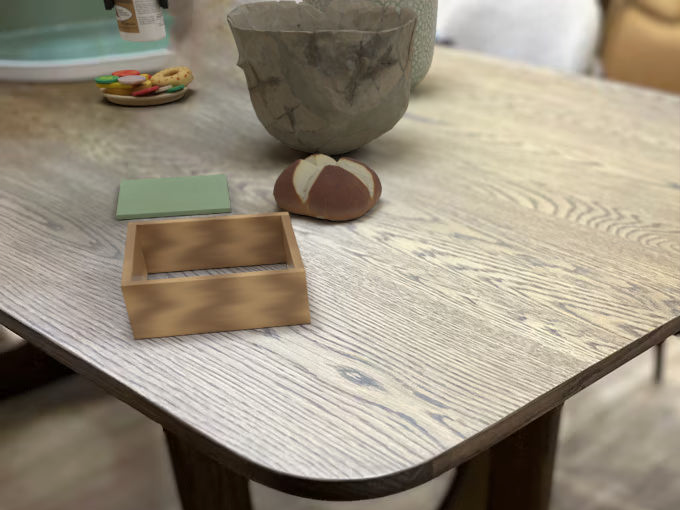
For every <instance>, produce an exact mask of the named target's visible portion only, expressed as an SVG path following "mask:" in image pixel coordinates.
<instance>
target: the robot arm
mask: <svg viewBox="0 0 680 510" xmlns="http://www.w3.org/2000/svg"><path fill="white" fill-rule="evenodd" d="M159 2H160V7H161V8H162V10H169V0H159ZM103 5H104V8H105V11H112V10H113V9H114V4H113V0H103Z"/></svg>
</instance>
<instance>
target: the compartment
mask: <svg viewBox="0 0 680 510" xmlns="http://www.w3.org/2000/svg"><path fill="white" fill-rule="evenodd" d="M303 261H304V260H303V258H302V255H301V252H300V248H299V243H298V241H297V238H296V234H295V231H294V226H293V223H292V220H291V217H290V212H288V211H280V212H279V211H277V212H276V211H275V212H263V213H262V212H261V213H247V214H234V215H233V214H232V215H219V216H217V215H216V216H204V217H191V218H190V217H189V218H174V219H173V218H172V219H157V220H144V221H129V222H127V226H126V236H125V245H124V254H123V262H122V263H123V264H122V272H121V281H120V289H121V293H122V297H123V301H124V305H125V308H126V309H125V310H126V312H127V316H128V321H129V324H130V328H131V331H132V336H133V339H134V340H143V339H153V338H154V339H155V338H165V337H176V336H185V335H197V334H208V333H218V332H230V331H240V330H252V329H262V328H274V327H284V326H294V325H295V326H296V325H306V324H311V322H312V321H311V320H312V319H311V309H310V302H309V300H310V299H309V293H308V281H307V272H306V268H305V265H304V262H303ZM272 264H273V265H274V264H275V265H276V264H286V268H285V269H271V270H260V271H259V270H258V271H257V270H256V271H246V272H244V271H243V272H235V273H234V272H232V273H222V274H220V273H219V274H210V275H209V274H208V275H197V276H196V275H195V276H185V277H184V276H183V277H171V278H170V277H169V278H159V279H158V278H157V279H148V276H149V274H158V273H172V272H183V271H184V272H185V271H198V270H209V269H210V270H212V269H222V268H223V269H224V268H233V267H236V268H237V267H248V266H260V265H263V266H264V265H272Z"/></svg>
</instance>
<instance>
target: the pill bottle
mask: <svg viewBox="0 0 680 510" xmlns="http://www.w3.org/2000/svg"><path fill="white" fill-rule="evenodd" d="M113 4H114V8H113V9H114V13H115V18H116V23H117V27H118V31H119V35H120V36H119V37H120V38H121V39H122V40H124V41H127V42H134V43H149V42H156V41H161V40H163V39H165V38H166V36H167V31H166V26H165V19H164V14H163V8H162V7H160V2H159V0H113Z"/></svg>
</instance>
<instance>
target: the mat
mask: <svg viewBox="0 0 680 510" xmlns="http://www.w3.org/2000/svg"><path fill="white" fill-rule="evenodd" d="M227 180H228V179H227V174H226V173H223V174H207V175H206V174H205V175H187V176H172V177H155V178H153V177H151V178H138V179H137V178H135V179H121V180H120V185H119V192H118V199H117V206H116V212H115V217H116V220H117V221H118V220H119V221H120V220H121V221H122V220H135V219H150V218H164V217H165V218H166V217H180V216H193V215H194V216H195V215H196V216H197V215H209V214H210V215H211V214H226V213H232V208H231V207H232V206H231V201H230V195H229V194H230V193H229V187H228V181H227Z"/></svg>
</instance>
